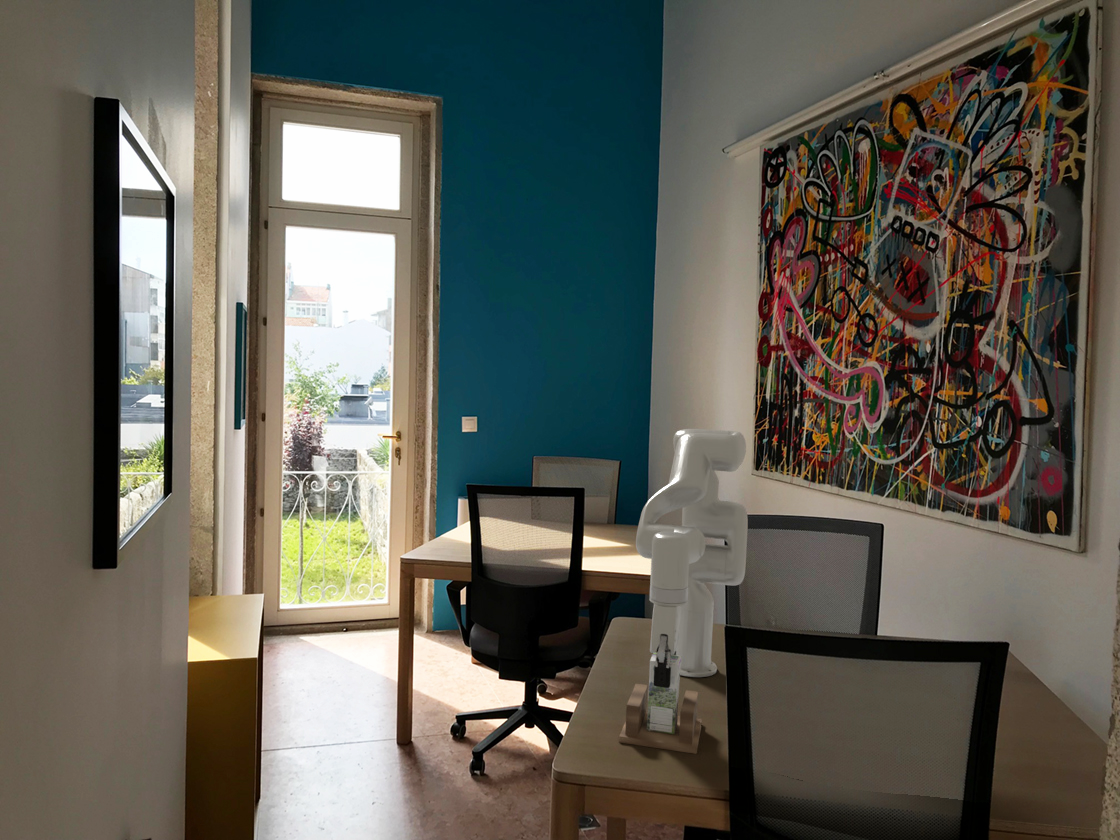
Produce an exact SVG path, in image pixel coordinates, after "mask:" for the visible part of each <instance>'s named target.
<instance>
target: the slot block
mask: <svg viewBox="0 0 1120 840" xmlns="http://www.w3.org/2000/svg"><path fill="white" fill-rule="evenodd" d="M648 690H649V684H648V685H647V684H643V683H635V685H634V686H633V689H632V692H631V694H630V696H629V699H628V701H627V703H626V708H625V709H626V711H625V722H624V724H623V726H622V729H621V732H620V734H619V737H618V738H619V739H618V743H622V744H628V745H634V746H641V747H650V748H654V749H655V748H656V749H661V750H668V751H669V750H670V751H676V752H680V753H689V754H695V755H697V752H698V747H699V741H700V735H701V730H702V726H701V725H702V724H703V719H702V718H698V705H699V704H698V703H699V691H697V690H696V691H695V690H689V689H688V690H687V689H686V690H685V693H684V697H683V701H682V705H681V708H680V712H679V713H680V715H678V723H677V726H676V730H675V734H668V733H661V732H655V731H648V730H647V714H648Z"/></svg>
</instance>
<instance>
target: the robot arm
mask: <svg viewBox="0 0 1120 840" xmlns="http://www.w3.org/2000/svg"><path fill="white" fill-rule="evenodd" d="M672 442H673V443H672V445H673V451H674V456H673V460H672V465H671V470H670V474H669V480H668V483H667V485H665V486H663V487H662V488H661V489H659V490H658V491H656V493H655V494H653V495H652V496H651V497H650V498H649V499H648V500H647V502H646V503H645V505H644V506H643V508H642V511H641V513H640V518H639V522H638V526H637V530H636V537H635V547H636V548H635V549H636V551H637V553H638V554H639V555H640V557H641V558H645V559H649V560H650V562H651V563H650V564H651V565H650V581H649V582H650V584H649V601H650V603H652V604H653V610H652V617H651V618H652V619H651V629H650V630H651V632H650V641H649V642H650V645H649V646H650V647H649V652H650V654H653V653H654V652H656V661H655V666H654V683H653V684H654V686H657V687H664V688H669V687H670V677H671V667H670V658H671V656H672V655H680V656H681V665H680V676H683V677H689V678H705V677H706V678H707V677H711V676H713V675H715V674H716V673H717V669H718V666H717V665H716V663H715V662H714V661H712V646H713V645H712V643H713V629H714V628H713V626H714V609H715V608H714V607H715V606H714V603H715V602H714V597H713V595H712V593H711V591H710V590H709V588H708V587H707V585H706V584H713V585H722V586H738V585H741V584H742V583H743V582H744V579H745V575H746V568H747V567H746V565H747V564H746V563H747V544H748V528H749V527H748V525H749V523H748V521H749V519H748V513H747V512H748V511H747V509H746V507H745V506H744V505H743V504H742V503H740V502H738V501H733V500H731V501H730V500H729V501H728V500H721V499H719V486H720V484H719V483H720V482H719V481H720V480H719V477H718V475H717V474H716V472H729V473H730V472H731V473H733V472H736V471H737V470H738V469H739V468H740V466H741V465H742V464H743V462H744V460H745V457H746V452H747V443H746V439H745V436H744V434H743V433H742V432H740V431H735V430H734V431H732V430H721V429H718V430H717V429H706V428H684V429H680V430H677V431H676V432H675V433H674V435H673V439H672ZM715 471H716V472H715ZM679 509H682V513H681V516H682V517H681V525H676V524H668V523H667V524H666V523H665V524H664V523H656V522H657V521H658V520H659V519H660V518H661V517H662V516H664V515H666V514H668V513H670V512H674V511H677V510H679ZM706 539H711V540H712V539H713V540H722V541H725V542H726V544H727V545H726V544H725V545H724V544H723V545H722V544H715V543H714V544H713V543H707V542H706ZM665 656H667V658H666V657H665Z"/></svg>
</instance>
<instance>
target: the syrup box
mask: <svg viewBox="0 0 1120 840" xmlns="http://www.w3.org/2000/svg"><path fill="white" fill-rule="evenodd" d="M656 652H657V651H656ZM656 652H653V653H652V654H651V657H650V660H649V676H648V677H649V678H648V680H649V681H648V692H647V711H648V714H647V730H648V731H655V732H661V733H668V734H675V730H676V726H677V723H678V716H679V695H680V680H681V679H680V677H681V675H680V665H681V656H680V655H672V656H671V658H670V667H671V677H670V687H669V688H664V687H657V686H654V684H653V683H654V666H655V661H656ZM665 657H666V658H667V656H665Z"/></svg>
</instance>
